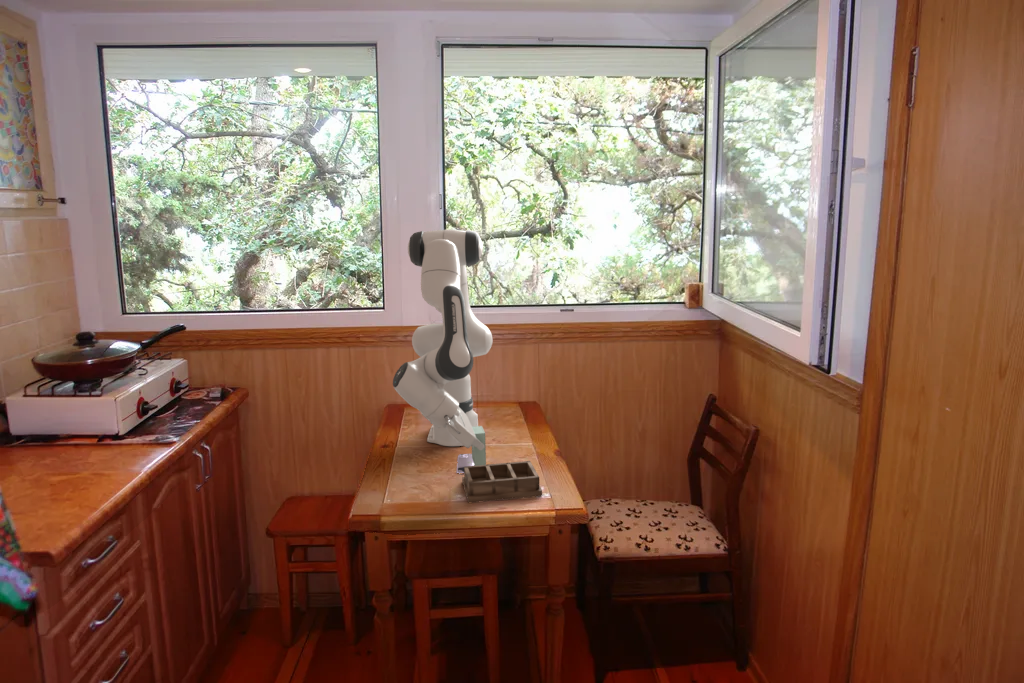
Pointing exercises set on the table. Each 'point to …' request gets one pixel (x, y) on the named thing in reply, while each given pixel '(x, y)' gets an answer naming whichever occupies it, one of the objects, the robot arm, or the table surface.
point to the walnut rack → (501, 481)
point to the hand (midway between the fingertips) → (480, 443)
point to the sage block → (477, 454)
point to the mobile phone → (464, 462)
